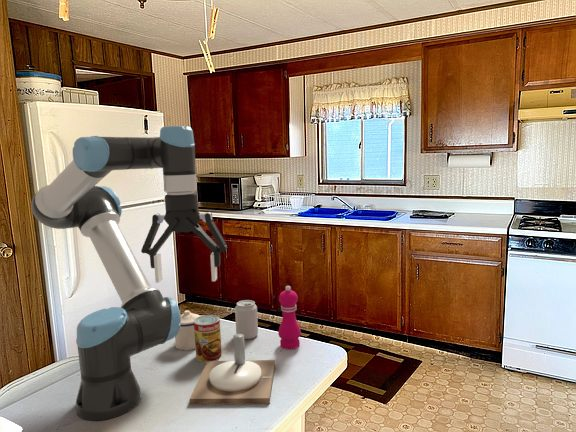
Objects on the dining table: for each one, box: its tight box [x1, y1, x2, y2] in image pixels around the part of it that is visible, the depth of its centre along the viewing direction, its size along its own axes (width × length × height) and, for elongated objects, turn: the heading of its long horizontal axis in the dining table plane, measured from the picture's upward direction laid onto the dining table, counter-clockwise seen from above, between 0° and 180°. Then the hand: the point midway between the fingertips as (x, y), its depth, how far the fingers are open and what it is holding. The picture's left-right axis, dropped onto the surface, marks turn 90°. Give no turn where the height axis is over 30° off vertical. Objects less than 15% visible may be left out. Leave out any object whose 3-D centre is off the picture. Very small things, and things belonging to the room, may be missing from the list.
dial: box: [209, 333, 261, 392], centre depth 115 cm, size 14×14×10 cm
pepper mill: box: [278, 285, 302, 350], centre depth 137 cm, size 7×7×20 cm
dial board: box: [189, 359, 276, 406], centre depth 116 cm, size 20×20×2 cm
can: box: [234, 299, 259, 340], centre depth 146 cm, size 8×8×12 cm
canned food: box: [194, 314, 223, 363], centre depth 132 cm, size 8×8×12 cm
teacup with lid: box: [174, 310, 201, 351], centre depth 142 cm, size 12×9×12 cm
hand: (186, 280), depth 103 cm, fingers open, 13 cm apart
